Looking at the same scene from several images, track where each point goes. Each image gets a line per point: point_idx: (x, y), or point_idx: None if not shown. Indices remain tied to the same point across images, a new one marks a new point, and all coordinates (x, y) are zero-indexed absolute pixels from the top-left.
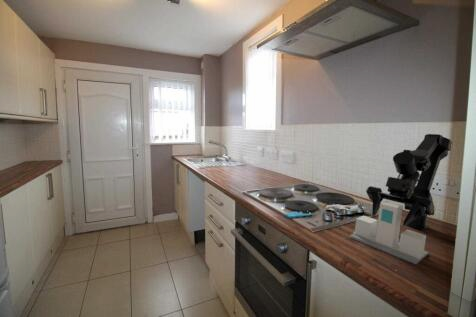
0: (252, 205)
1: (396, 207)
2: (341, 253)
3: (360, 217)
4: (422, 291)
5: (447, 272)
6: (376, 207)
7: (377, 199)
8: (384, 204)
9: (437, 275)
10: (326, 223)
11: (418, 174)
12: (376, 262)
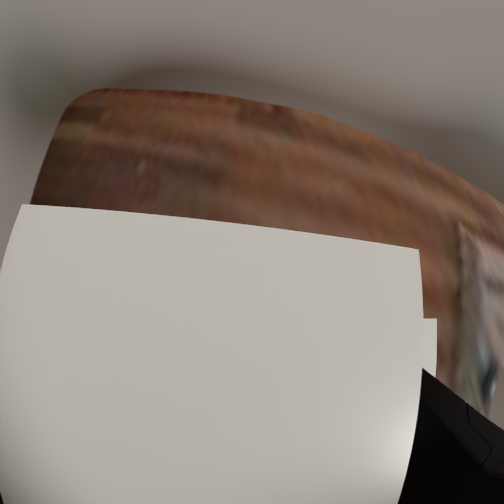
0: None
1: (27, 230)
2: (315, 141)
3: (430, 368)
4: (85, 128)
5: None
6: (416, 427)
7: (501, 483)
8: (320, 249)
9: None
10: (482, 348)
11: None
12: (203, 164)
